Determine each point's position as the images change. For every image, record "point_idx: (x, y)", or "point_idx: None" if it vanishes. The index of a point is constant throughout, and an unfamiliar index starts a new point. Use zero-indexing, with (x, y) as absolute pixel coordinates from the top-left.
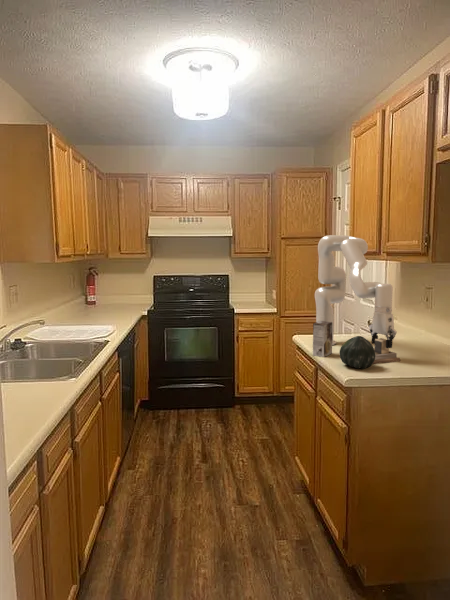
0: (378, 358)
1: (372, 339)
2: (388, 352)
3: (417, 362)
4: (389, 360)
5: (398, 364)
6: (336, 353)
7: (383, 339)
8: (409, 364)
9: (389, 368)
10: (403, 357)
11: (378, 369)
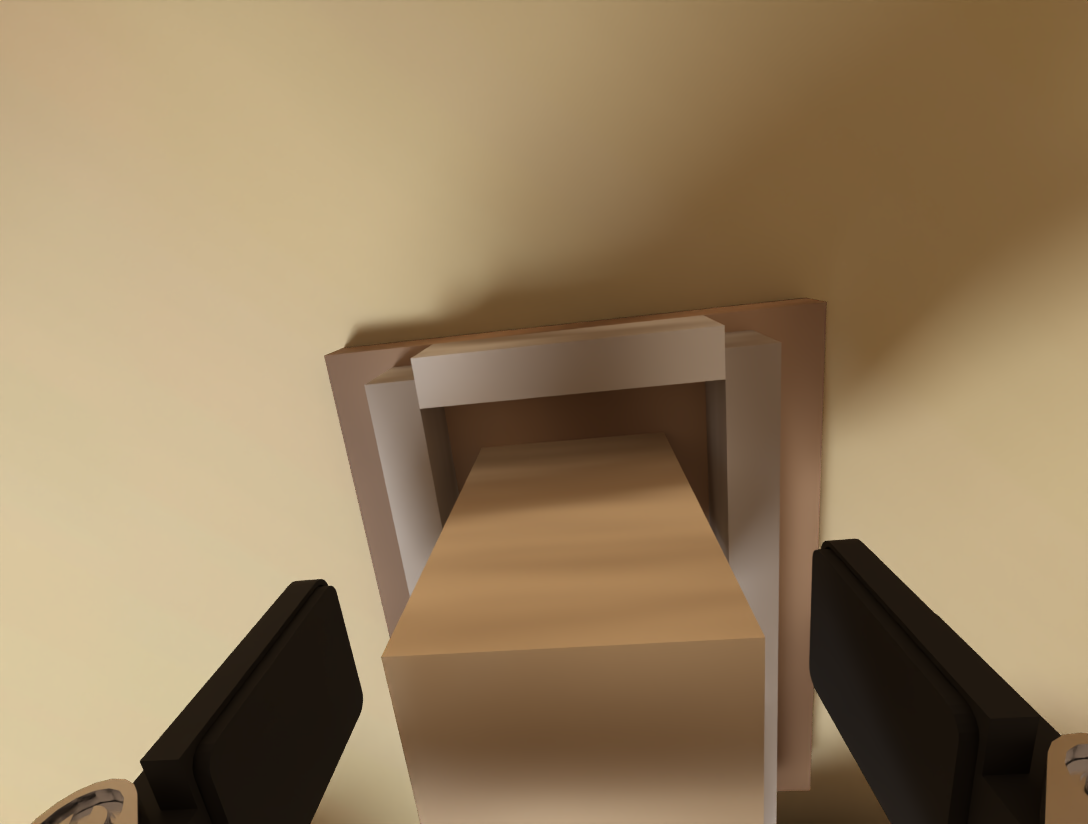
0: None
1: (307, 806)
2: (680, 470)
3: (1039, 45)
4: (813, 519)
5: (968, 464)
6: None
7: (582, 722)
8: (1062, 299)
9: (1063, 693)
10: (616, 54)
11: None
